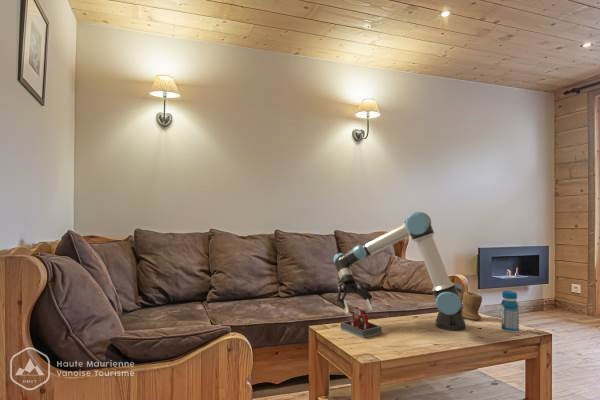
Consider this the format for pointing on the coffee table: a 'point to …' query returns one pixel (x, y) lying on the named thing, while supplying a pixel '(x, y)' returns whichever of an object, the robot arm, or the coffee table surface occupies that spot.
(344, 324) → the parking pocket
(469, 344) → the coffee table surface
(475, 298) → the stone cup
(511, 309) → the beverage bottle
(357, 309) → the toy fire truck
